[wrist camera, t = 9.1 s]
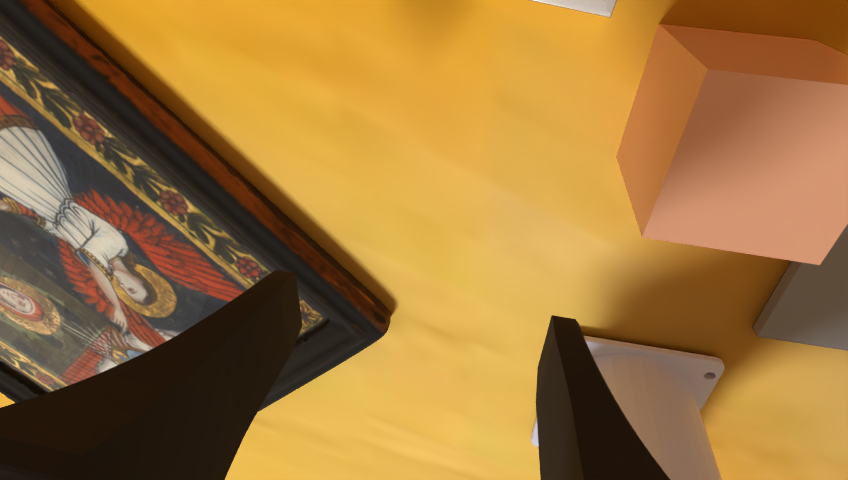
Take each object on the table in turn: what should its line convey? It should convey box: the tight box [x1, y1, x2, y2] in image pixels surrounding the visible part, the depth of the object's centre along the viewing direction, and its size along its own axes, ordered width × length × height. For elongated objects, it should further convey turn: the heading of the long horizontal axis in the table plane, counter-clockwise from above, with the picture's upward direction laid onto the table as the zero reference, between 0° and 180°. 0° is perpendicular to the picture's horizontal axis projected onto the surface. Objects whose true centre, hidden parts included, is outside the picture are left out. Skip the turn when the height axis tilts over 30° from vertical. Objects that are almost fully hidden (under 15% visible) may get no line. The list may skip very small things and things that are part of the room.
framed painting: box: [0, 0, 390, 411], centre depth 29 cm, size 38×35×3 cm
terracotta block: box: [616, 24, 848, 265], centre depth 15 cm, size 5×5×6 cm
